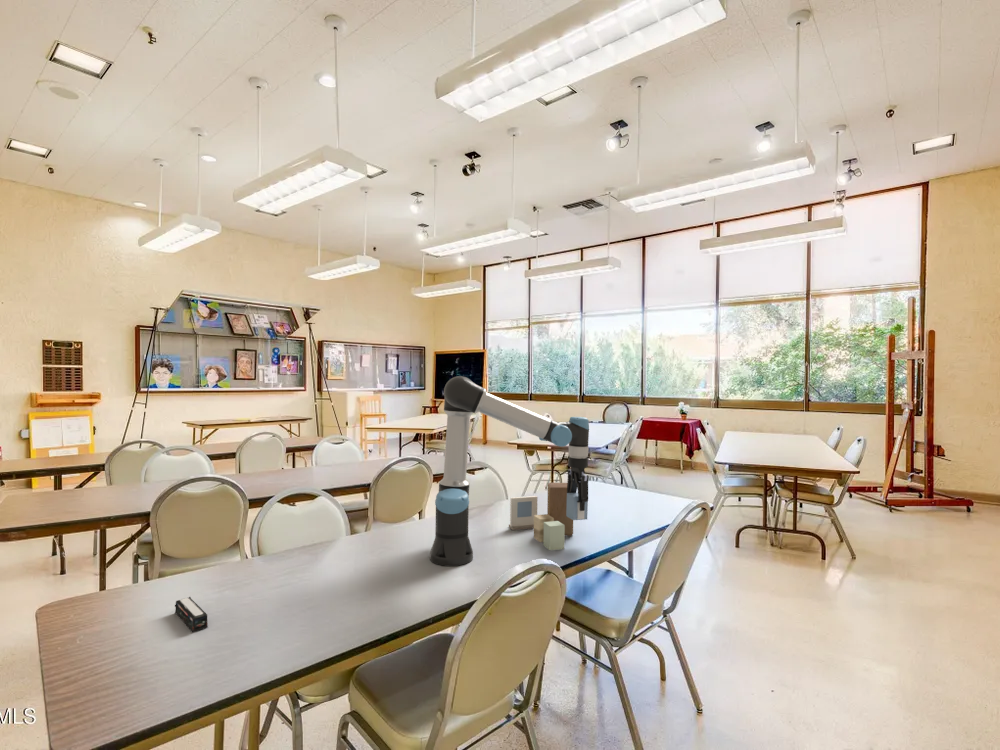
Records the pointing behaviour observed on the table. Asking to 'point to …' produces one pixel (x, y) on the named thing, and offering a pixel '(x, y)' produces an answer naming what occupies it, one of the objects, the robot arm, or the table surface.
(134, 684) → the table surface
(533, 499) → the placard
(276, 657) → the table surface
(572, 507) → the slate blue block
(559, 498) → the wooden block
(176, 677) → the table surface
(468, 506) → the robot arm
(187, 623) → the bus
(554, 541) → the sage block
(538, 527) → the maple block
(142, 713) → the table surface
